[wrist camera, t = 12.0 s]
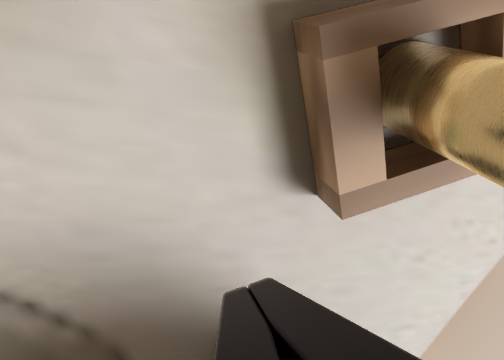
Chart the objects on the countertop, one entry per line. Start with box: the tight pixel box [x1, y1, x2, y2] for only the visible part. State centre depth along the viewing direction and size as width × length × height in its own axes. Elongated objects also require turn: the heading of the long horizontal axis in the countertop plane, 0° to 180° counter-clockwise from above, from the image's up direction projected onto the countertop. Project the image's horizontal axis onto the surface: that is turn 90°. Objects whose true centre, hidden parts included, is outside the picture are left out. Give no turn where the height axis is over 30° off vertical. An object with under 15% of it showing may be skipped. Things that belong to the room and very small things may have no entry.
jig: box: [293, 0, 504, 220], centre depth 20 cm, size 8×10×2 cm
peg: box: [378, 41, 504, 187], centre depth 18 cm, size 4×4×8 cm
